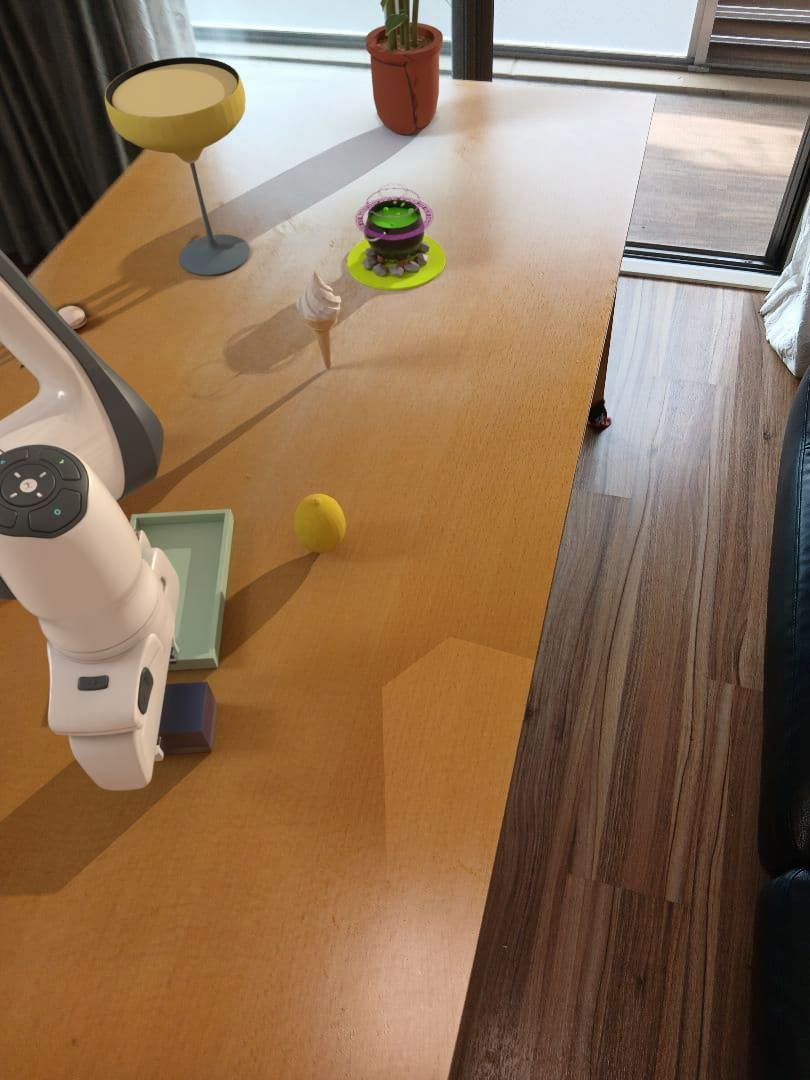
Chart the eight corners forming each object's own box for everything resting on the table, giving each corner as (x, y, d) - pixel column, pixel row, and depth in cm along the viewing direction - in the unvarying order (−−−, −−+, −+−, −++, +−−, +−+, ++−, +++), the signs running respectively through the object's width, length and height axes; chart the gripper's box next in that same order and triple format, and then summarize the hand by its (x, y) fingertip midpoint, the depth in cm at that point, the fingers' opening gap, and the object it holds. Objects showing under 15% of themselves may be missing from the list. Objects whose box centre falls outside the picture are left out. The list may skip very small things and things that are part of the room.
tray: (106, 674, 82) (99, 664, 80) (136, 525, 93) (131, 514, 92) (217, 668, 82) (213, 658, 80) (234, 519, 93) (230, 508, 92)
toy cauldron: (367, 226, 130) (362, 158, 121) (458, 241, 126) (459, 172, 117) (331, 280, 121) (323, 211, 112) (427, 298, 118) (426, 228, 109)
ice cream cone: (356, 361, 110) (345, 263, 98) (336, 387, 107) (323, 289, 95) (319, 350, 111) (305, 253, 99) (299, 376, 108) (282, 278, 96)
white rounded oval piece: (94, 322, 117) (88, 308, 115) (68, 342, 114) (61, 327, 112) (73, 313, 118) (67, 298, 116) (47, 332, 116) (40, 317, 114)
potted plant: (366, 114, 153) (349, -119, 125) (447, 104, 154) (448, -129, 126) (381, 160, 142) (366, -84, 114) (468, 149, 143) (474, -95, 116)
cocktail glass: (147, 293, 121) (89, 121, 101) (165, 226, 132) (116, 59, 112) (269, 287, 120) (235, 114, 101) (276, 220, 132) (247, 52, 112)
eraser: (127, 756, 76) (111, 736, 73) (135, 707, 79) (121, 686, 76) (212, 752, 76) (201, 731, 73) (217, 703, 79) (207, 681, 76)
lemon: (289, 545, 91) (278, 498, 84) (329, 519, 93) (321, 471, 87) (318, 575, 88) (309, 529, 82) (358, 548, 90) (352, 501, 84)
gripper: (97, 520, 69) (145, 609, 80) (41, 748, 56) (108, 817, 67) (171, 515, 69) (209, 605, 80) (132, 742, 56) (184, 812, 67)
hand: (162, 704), depth 73 cm, fingers open, 8 cm apart
